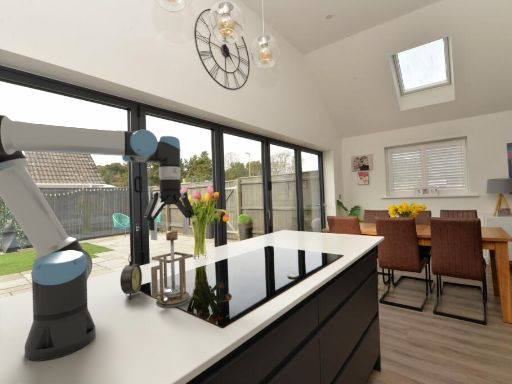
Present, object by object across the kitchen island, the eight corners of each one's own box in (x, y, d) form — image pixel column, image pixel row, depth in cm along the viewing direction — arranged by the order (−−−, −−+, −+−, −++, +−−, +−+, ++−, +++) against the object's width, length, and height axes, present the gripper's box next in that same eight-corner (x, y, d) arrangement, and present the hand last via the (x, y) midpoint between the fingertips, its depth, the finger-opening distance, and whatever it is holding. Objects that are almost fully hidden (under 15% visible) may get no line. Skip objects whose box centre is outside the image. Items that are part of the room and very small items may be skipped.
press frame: (164, 312, 87) (162, 262, 87) (144, 304, 94) (143, 258, 94) (197, 298, 98) (196, 254, 98) (177, 292, 105) (176, 251, 105)
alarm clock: (133, 300, 98) (131, 256, 98) (118, 301, 98) (116, 257, 98) (143, 290, 109) (142, 250, 109) (129, 290, 109) (128, 251, 109)
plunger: (170, 297, 91) (168, 233, 92) (158, 292, 96) (156, 232, 96) (188, 290, 97) (186, 230, 98) (175, 286, 102) (174, 229, 102)
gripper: (143, 177, 85) (144, 243, 85) (202, 179, 105) (203, 233, 104) (131, 178, 89) (132, 241, 89) (190, 180, 109) (191, 232, 109)
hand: (171, 237), depth 97 cm, fingers open, 13 cm apart
